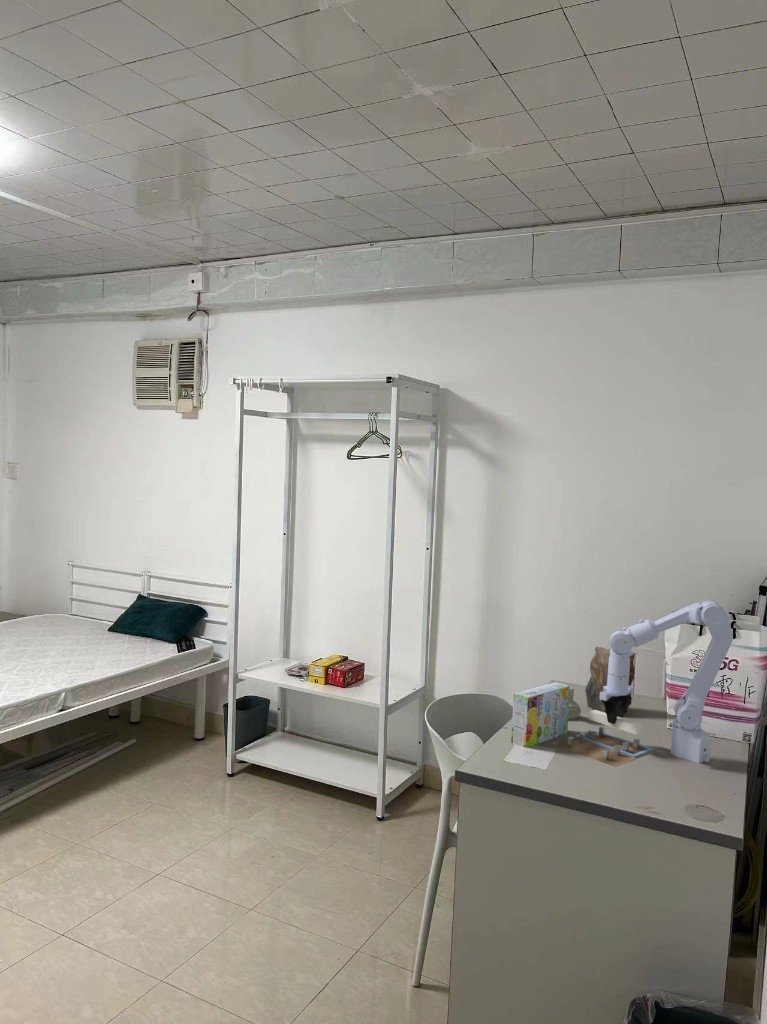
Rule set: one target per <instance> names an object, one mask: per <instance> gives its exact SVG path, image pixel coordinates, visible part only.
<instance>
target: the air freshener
mask: <svg viewBox="0 0 767 1024" xmlns="http://www.w3.org/2000/svg"><path fill="white" fill-rule="evenodd" d="M569 686H570V692H569V712H568V720H575V719H577V718H578V717H580V715H581V712H582V710H581V706H580V705H579V704H578V703H577V702H576V701H575V700H574V696H575V695H574V693H575V692H574V691H575V689H574V687H573V686H571V685H569Z"/></svg>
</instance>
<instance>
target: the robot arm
mask: <svg viewBox="0 0 767 1024" xmlns="http://www.w3.org/2000/svg"><path fill="white" fill-rule="evenodd" d="M700 620H701V621H702V623H703V624H704V625H705V626H706V627H707V630H708V632H709V633H710V636H711V638H710V642H709V644H708V646H707V647H706V650H705V653H704V654H703V657H702V659H701V660H700V663H699V665H698V667H697V669H696V672H695V674H694V675H693V677H692V680H691V682H690V684H689V686H688V688H687V689H686V691H684V692H683V695H682V696H681V698H679V699H677V701H676V702H675V704H674V708H673V710H674V714H675V716H676V718H675V720H673V721H672V728H671V729H672V732H671V743H670V754H671V755H673V756H674V757H676V758H679V759H684V760H687V761H691V762H694V763H697V764H701V763H703V762H706V763H708V762H710V761H711V759H710V751H711V735H710V733H709V732H707V731H705V730H703V729H702V726H701V724H702V721H703V711H704V708H705V705H706V699H707V696H708V694H709V692H710V690H711V688H712V686H713V684H714V682H715V679H716V677H717V675H718V673H719V672H720V669H721V667H722V665H723V663H724V660H725V658H726V656H727V654H728V651H729V650H730V648H731V646H732V643H733V641H734V638H733V632H732V627H731V621H730V620H731V618H730V616H729V614H728V613H727V611H726V610H725V608H723V606H721V605H720V603H719V602H717V601H716V600H714V599H708V598H707V599H704V600H702V601H700V602H694V603H691V604H689V605H687V606H684V607H682V608H680V609H679V610H675V611H673V612H672V613H669V614H667V615H666V616H663V617H661V618H659V619H658V620H655V621H653V620H651V619H646V620H644V619H640V620H638V623H636V624H633V625H631V626H629V627H626V626H624V627H622V630H615V631H614V632H613V633H612V634H611V635H610V638H609V644H610V649H611V650H610V656H609V664H608V678H607V686H604V687H603V689H604V690H603V691H602V692H600V699H601V700H602V702H603V704H604V707H605V710H606V715H607V720H608V722H609V723H613V724H615V723H616V720H617V717H620V718H624V716H625V711H626V708H627V706H628V705H629V703H630V702H631V703H632V701H633V699H632V696H631V697H630V696H627V695H628V694H629V693H630V694H631V695H632V694H634V690H635V689H634V688H635V687H634V686H632V685H631V686H628V682H629V669H630V658H629V656H630V654H631V653H630V652H631V651H632V649H633V648H637V647H640V646H642V645H645V644H648V643H650V642H652V641H654V640H657V639H658V637H659V634H660V633H661V632H664V631H667V630H670V629H673V628H675V627H678V626H681V625H683V624H685V623H691V624H696V625H697V624H698V625H700V624H701V621H700Z"/></svg>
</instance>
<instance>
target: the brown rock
mask: <svg viewBox="0 0 767 1024" xmlns="http://www.w3.org/2000/svg"><path fill="white" fill-rule="evenodd" d="M610 650H611V648H610V649H609V648H604V647H600V646H595V647H594V651H595V653H594V656H593V657H592V658H591V661H590V664H589V671H590V675H591V676H590V677H589V680H588V683H587V685H586V687H585V696H586V701H587V707H588V708H589V707H590V709H591V708H592V709H593V710H598V711H601V712H604V713H606V710H605V707H604V704H603V702H602V700H601V699H600V692H602V691H603V690H604V689H603V687H604V686H607V678H608V664H609V656H610ZM629 658H630V669H629V682H628V686H632V684H633V681H634V680H635V673H636V672H635V670H636V668H635V665H634V660H635V653H633V652H632V653H630V656H629ZM627 696H630V697H632V694H630V693H629V694H628V695H627ZM631 705H632V701H631V702H630V703H629V705H628V706H627V708H626V711H625V713H626V712H628V709H629V707H630V706H631ZM592 709H591V710H592ZM626 714H627V713H626Z"/></svg>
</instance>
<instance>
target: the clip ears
mask: <svg viewBox="0 0 767 1024" xmlns="http://www.w3.org/2000/svg"><path fill="white" fill-rule="evenodd" d="M591 730H592V729H591ZM591 730H588V739H590V740H594V731H591ZM598 731H599V736H600V737H604V736H605V733H606V727H603V726H600V727H598ZM583 733H584V732H581V733H578V734H579V743H582V744H584V743H585V736H586V734H583ZM567 738H568V744H567V746H568V747H574V738H573V736H569V737H567ZM640 739H641V738H637V737H635V738H633V741H632V742H633V748H636V749H638V748H639V745H641V744H640V742H641V740H640ZM620 750H621V746H619V745H615V746H614V755H616V756H619V755H620ZM622 751H625V752H629V743H628V742H623V750H622ZM602 759H604V760H608V759H609V750H608V749H603V757H602Z"/></svg>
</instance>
